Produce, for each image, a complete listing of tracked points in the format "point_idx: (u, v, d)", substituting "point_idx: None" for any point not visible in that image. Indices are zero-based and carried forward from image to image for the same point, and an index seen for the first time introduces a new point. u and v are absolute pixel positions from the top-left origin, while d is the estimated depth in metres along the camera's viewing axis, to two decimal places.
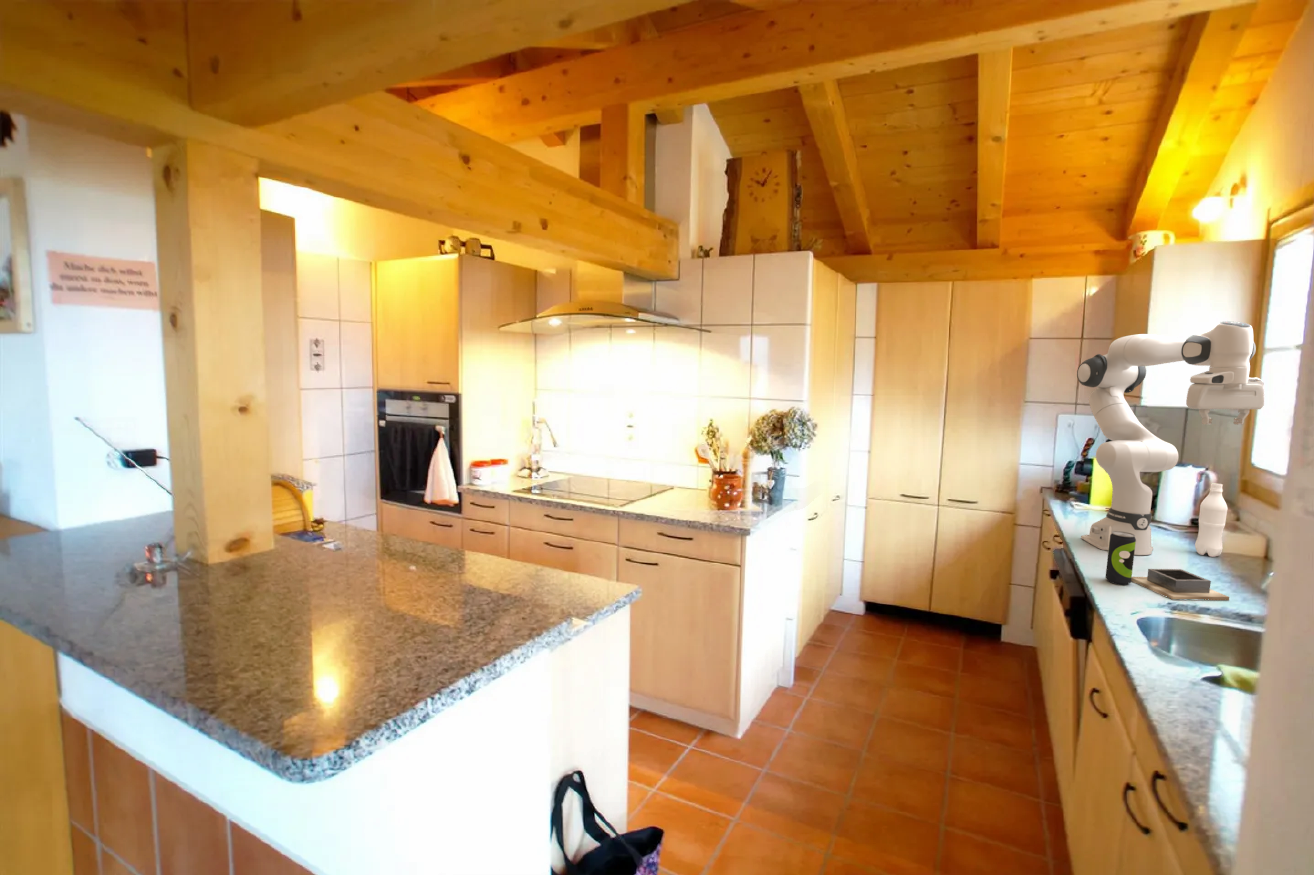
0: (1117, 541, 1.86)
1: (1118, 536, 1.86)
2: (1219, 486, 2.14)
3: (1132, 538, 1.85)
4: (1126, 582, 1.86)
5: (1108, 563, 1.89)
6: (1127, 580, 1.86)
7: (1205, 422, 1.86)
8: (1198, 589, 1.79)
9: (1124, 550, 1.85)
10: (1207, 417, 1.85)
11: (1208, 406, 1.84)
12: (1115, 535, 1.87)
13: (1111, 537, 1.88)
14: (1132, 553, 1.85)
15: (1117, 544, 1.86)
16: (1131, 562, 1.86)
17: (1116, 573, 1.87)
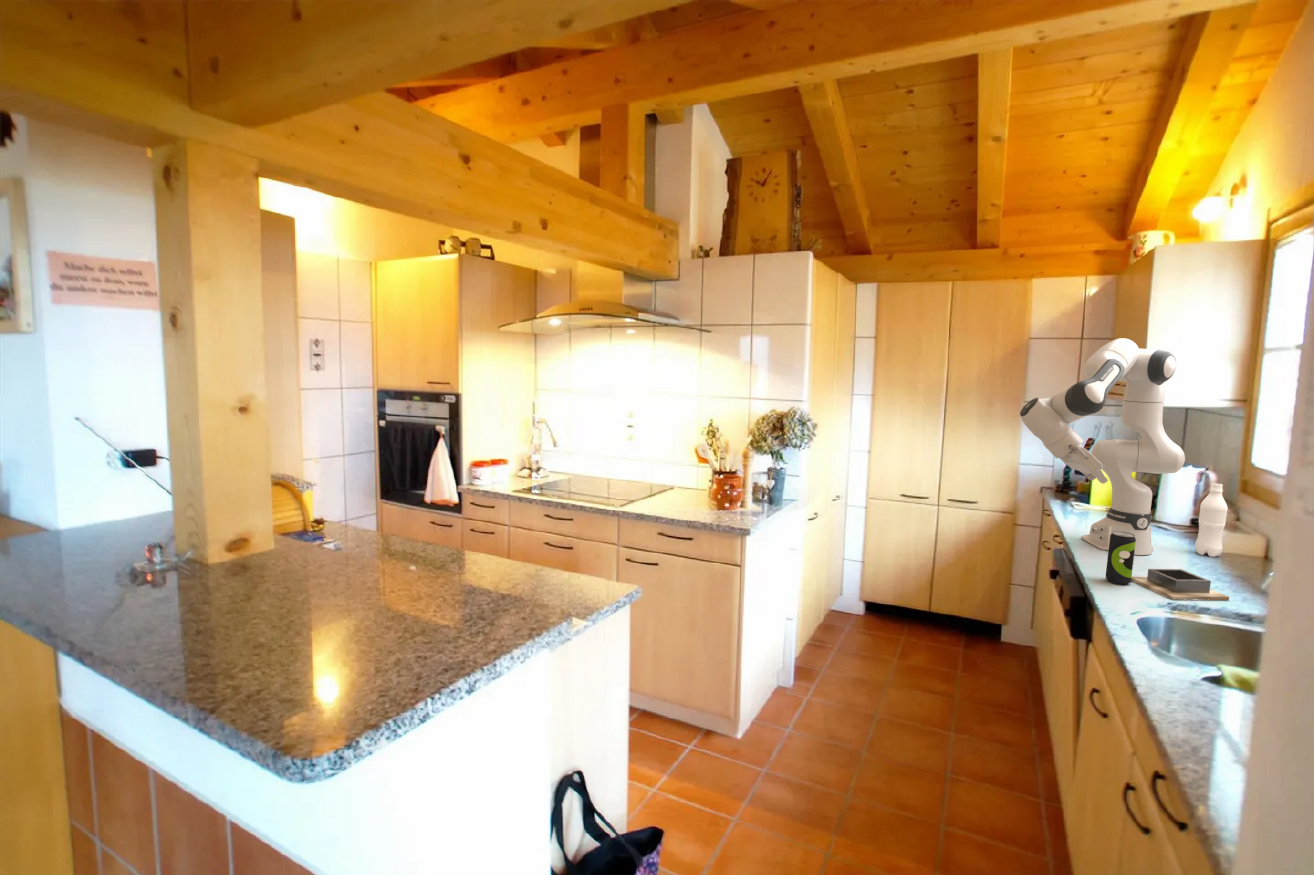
0: (1116, 541, 1.86)
1: (1118, 536, 1.86)
2: (1219, 486, 2.14)
3: (1132, 538, 1.85)
4: (1126, 582, 1.86)
5: (1108, 563, 1.89)
6: (1127, 580, 1.86)
7: None
8: (1198, 589, 1.79)
9: (1124, 550, 1.85)
10: (1085, 475, 1.94)
11: (1073, 468, 1.96)
12: (1115, 535, 1.87)
13: (1111, 537, 1.88)
14: (1132, 553, 1.85)
15: (1117, 544, 1.86)
16: (1131, 562, 1.86)
17: (1116, 573, 1.87)
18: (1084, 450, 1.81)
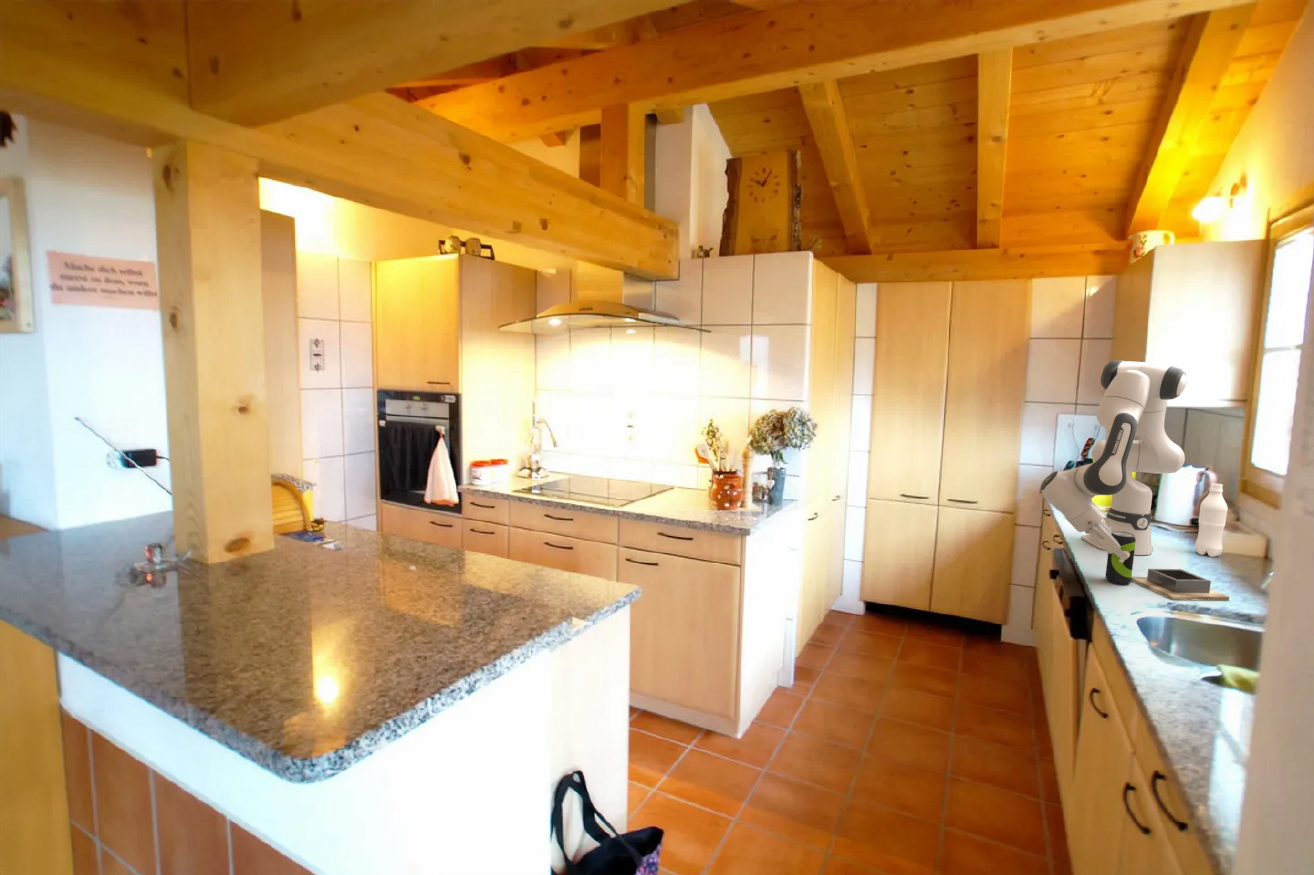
0: None
1: (1118, 536, 1.86)
2: (1219, 486, 2.14)
3: (1132, 538, 1.85)
4: (1126, 582, 1.86)
5: (1108, 563, 1.89)
6: (1126, 580, 1.86)
7: None
8: (1198, 589, 1.79)
9: (1124, 550, 1.85)
10: None
11: None
12: (1115, 535, 1.87)
13: None
14: (1132, 553, 1.85)
15: None
16: (1131, 562, 1.86)
17: (1116, 573, 1.87)
18: (1100, 529, 1.83)
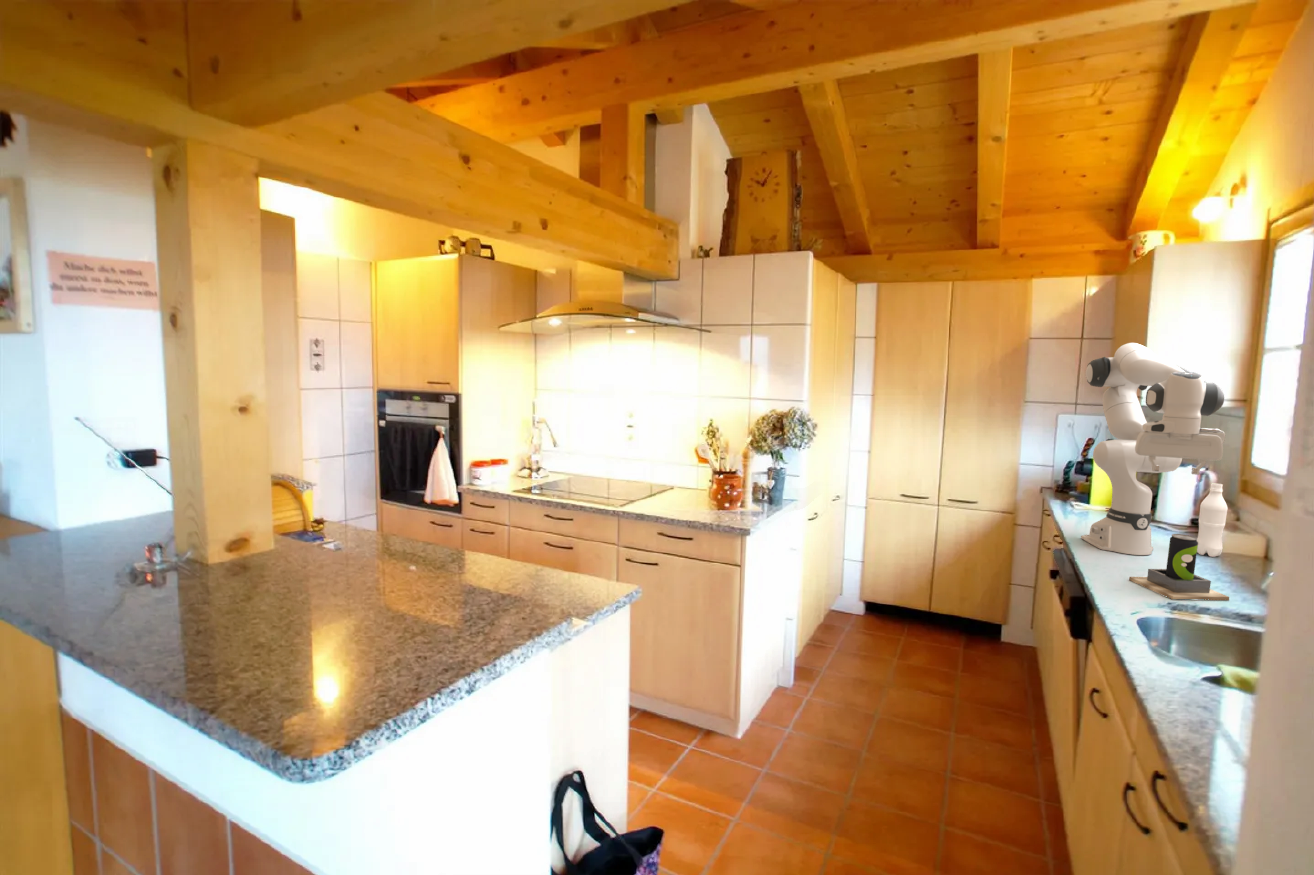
0: (1179, 544, 1.80)
1: (1180, 539, 1.80)
2: (1219, 486, 2.14)
3: (1195, 541, 1.79)
4: None
5: (1168, 567, 1.83)
6: None
7: (1152, 469, 1.91)
8: (1198, 589, 1.79)
9: (1187, 554, 1.79)
10: (1153, 464, 1.90)
11: (1151, 453, 1.89)
12: (1177, 538, 1.81)
13: (1172, 540, 1.82)
14: (1194, 557, 1.80)
15: (1179, 547, 1.80)
16: (1193, 566, 1.80)
17: (1178, 577, 1.81)
18: None
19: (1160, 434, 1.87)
